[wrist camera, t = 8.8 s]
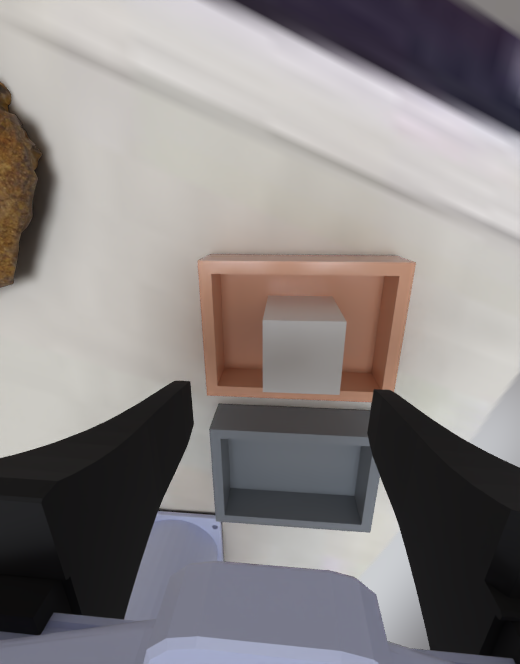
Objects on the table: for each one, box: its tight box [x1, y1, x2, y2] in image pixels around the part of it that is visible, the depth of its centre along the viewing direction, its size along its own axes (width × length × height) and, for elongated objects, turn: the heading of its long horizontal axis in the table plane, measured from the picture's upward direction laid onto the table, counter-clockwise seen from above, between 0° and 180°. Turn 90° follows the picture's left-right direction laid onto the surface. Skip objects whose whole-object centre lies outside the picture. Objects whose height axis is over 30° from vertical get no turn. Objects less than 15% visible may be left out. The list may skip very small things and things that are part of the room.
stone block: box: [263, 295, 347, 395], centre depth 18 cm, size 4×4×5 cm
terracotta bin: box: [198, 254, 416, 402], centre depth 19 cm, size 8×11×3 cm
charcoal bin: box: [209, 404, 380, 532], centre depth 23 cm, size 8×11×3 cm
